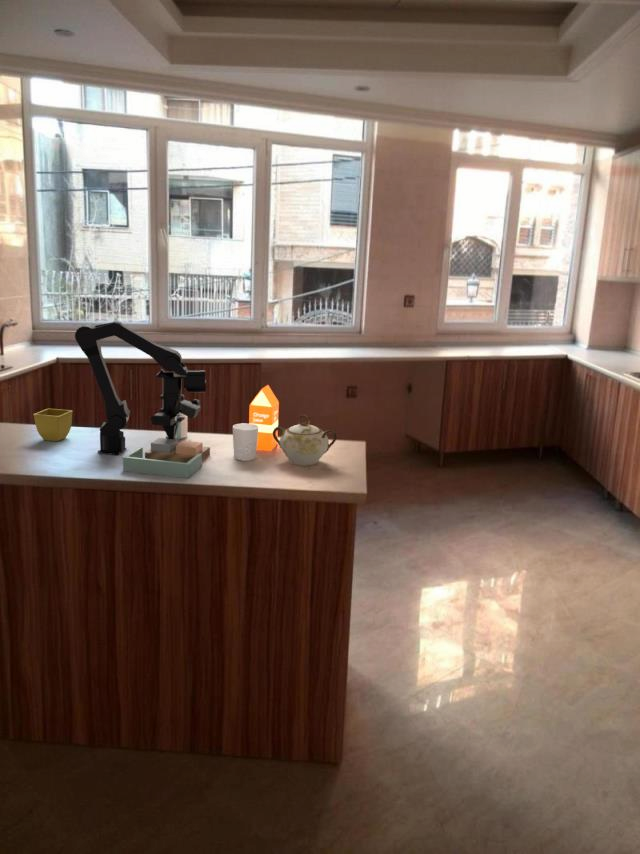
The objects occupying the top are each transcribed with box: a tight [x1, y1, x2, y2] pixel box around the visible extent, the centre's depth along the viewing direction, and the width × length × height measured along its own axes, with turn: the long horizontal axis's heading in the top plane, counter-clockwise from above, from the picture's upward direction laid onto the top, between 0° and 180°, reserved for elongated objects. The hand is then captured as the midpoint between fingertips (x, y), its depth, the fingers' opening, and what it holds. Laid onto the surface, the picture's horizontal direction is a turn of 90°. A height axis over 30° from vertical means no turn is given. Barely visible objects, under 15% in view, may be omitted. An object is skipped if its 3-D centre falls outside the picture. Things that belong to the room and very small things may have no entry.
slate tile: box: [150, 437, 179, 453], centre depth 200 cm, size 6×6×2 cm
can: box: [165, 413, 188, 440], centre depth 221 cm, size 7×7×12 cm
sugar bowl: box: [273, 414, 337, 467], centre depth 202 cm, size 20×15×15 cm
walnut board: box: [144, 445, 211, 463], centre depth 201 cm, size 16×12×2 cm
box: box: [122, 446, 203, 479], centre depth 190 cm, size 19×11×4 cm, turn 80°
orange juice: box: [248, 384, 280, 452], centre depth 215 cm, size 8×9×20 cm
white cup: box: [232, 422, 259, 462], centre depth 204 cm, size 8×8×10 cm
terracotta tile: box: [176, 440, 204, 456], centre depth 199 cm, size 6×6×2 cm
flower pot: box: [33, 408, 73, 442], centre depth 212 cm, size 9×9×9 cm
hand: (172, 441), depth 206 cm, fingers closed
